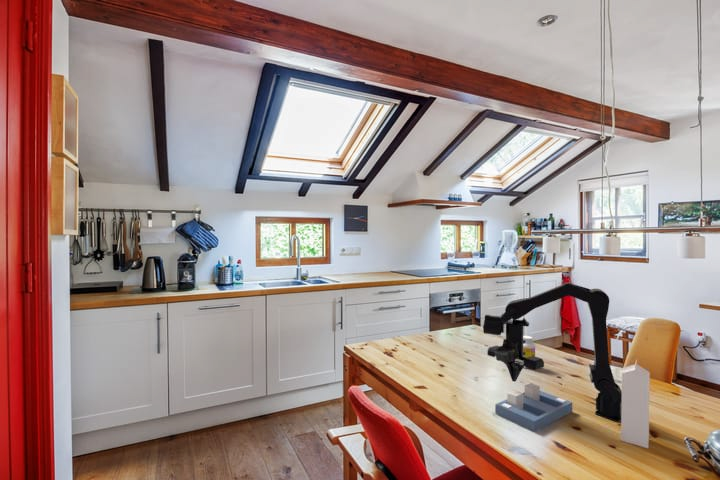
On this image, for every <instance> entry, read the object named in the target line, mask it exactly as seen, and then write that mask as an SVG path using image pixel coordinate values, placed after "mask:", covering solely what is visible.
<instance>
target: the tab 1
mask: <svg viewBox="0 0 720 480" xmlns="http://www.w3.org/2000/svg"><path fill="white" fill-rule="evenodd" d="M523 393H524V392H520V391H519V390H515V389H514V390H512V391H509V392H507V399H508V404H509V405H512V406H514V407H516V408H519V409H521V410H522V409H523Z"/></svg>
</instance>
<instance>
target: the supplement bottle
mask: <svg viewBox="0 0 720 480" xmlns="http://www.w3.org/2000/svg"><path fill="white" fill-rule="evenodd" d="M523 340H525V343H524V344H523V351H524V352H525V355H523V357H530V356H535V357H536V344H535V343H533V341H534V338H533V337H532V336H530V335H523ZM523 369H527V368H526V367H525V366H524V367H523Z"/></svg>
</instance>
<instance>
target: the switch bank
mask: <svg viewBox="0 0 720 480" xmlns="http://www.w3.org/2000/svg"><path fill="white" fill-rule="evenodd" d="M522 393H523V409H522V410H521V409H519V408H516V407H514V406H512V405H509V404H508V398H506V399H504V400H502V401H500V402H497V403H495V404H494V405H495V411H494V413H495V415H498V416H501V417H502V418H505V420H506V419H507V420H508V421H511V422H513V423H515V424H518V425H519V426H522V427H523V428H526V429H528V430H530V431H532V432H536V431H538V430H540V429H541V428H542V429H543V427H547V425H550V424H552V423H553V422H555V421H558V420H559V419H561V418H563V417H565V416H567V415H569V414H571V413H572V412H573V402H572V401H570V400H566V399H564V398H562V397H558V396H555V395H553V394H551V393H548V392H545V391H542V390H540V401H536V400H534V399H531V398H529V397H526V396H524V394H525V391H524V392H522Z"/></svg>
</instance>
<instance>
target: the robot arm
mask: <svg viewBox="0 0 720 480" xmlns="http://www.w3.org/2000/svg"><path fill="white" fill-rule="evenodd" d="M568 296H569V297H572V298H575V299H577V300H579V301H582V302H584V303H587V306H588V309H589V312H590V315H591V322H592V323H591V325H592V336H593V337H592V338H593V351H594V353H593V354H594V361H593V364H591V363H588V367H589V371H590V373H589V375H588V376H589V380H590V382H591V383H592V384H593V386H594V389H596V390H597V391H598V393H597V396H596V397H595V410H596V411H595V412H594V414H595V415H598V416H600V417H604V419H605V418H606V419H609V420H611V421H613V422H616V423H619V422H621V409H622V388H621V387H620V386H619V384H618V383H617V382H615V379H614V374H613V371H612V368H611V365H610V356H609V344H608V343H609V342H608V328H607V327H608V326H607V316H608V313H609V305H610V298H609V296H608V294H607V293H606V292H605V291H603V290H602V289H600V288H591V289H590V288H588V287H585V286H582V285H577V284H574V283H571V282H570V281H569V282H564V283H563V284H561V285H558V286H555V287H554V288H550V289H548V290H546V291H543V292H541V293H540V292H539V293H538V294H535V295H533V296H531V297H526V298H519V299H515V300H511V301H509V302H508V303H507V305H506V307H505V308H504V310H505V312H503V313H501V316H497V315H490V314H485V315H484V321H483V326H482V328H483V329H482V330H483V334H485V335H494V336H501V335H502V334H505V339H503V341H502V345H500V346H499V345H494V346H493V345H492V346H490V347H488V348H487V350H486V354H487V356H489V357H493V358H495V359H496V361H498V362H501V363H503V364H505V366H506V368H507V370H508V373H509V375H510V376H509V377H510V378H511V381H512V382H517V380H518V378H519V376H520V374H521V372H522V370H523V369H524V368H523V367H524V366H525V367H526V368H525V369H530V370H532V371H537V370H539V369H543V368H544V367H545V361H544V360H543V358H541V357H538V356H536V355H535V356H530V357H523V355H525V352H524V351H523V344H524V343H525V340H523V336H524V327H529V326H530V321H527V319H526V318H525V317H524V316H526V315H527V314H528V313H530V312H531V311H533V310H534V309H538V308H540V307H542V306H545V305H547V304H550V303H553V302H556V301H558V300H561V299H564V298H566V297H568ZM522 317H523V318H522ZM521 318H522V319H521ZM510 320H511V321H510Z"/></svg>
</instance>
